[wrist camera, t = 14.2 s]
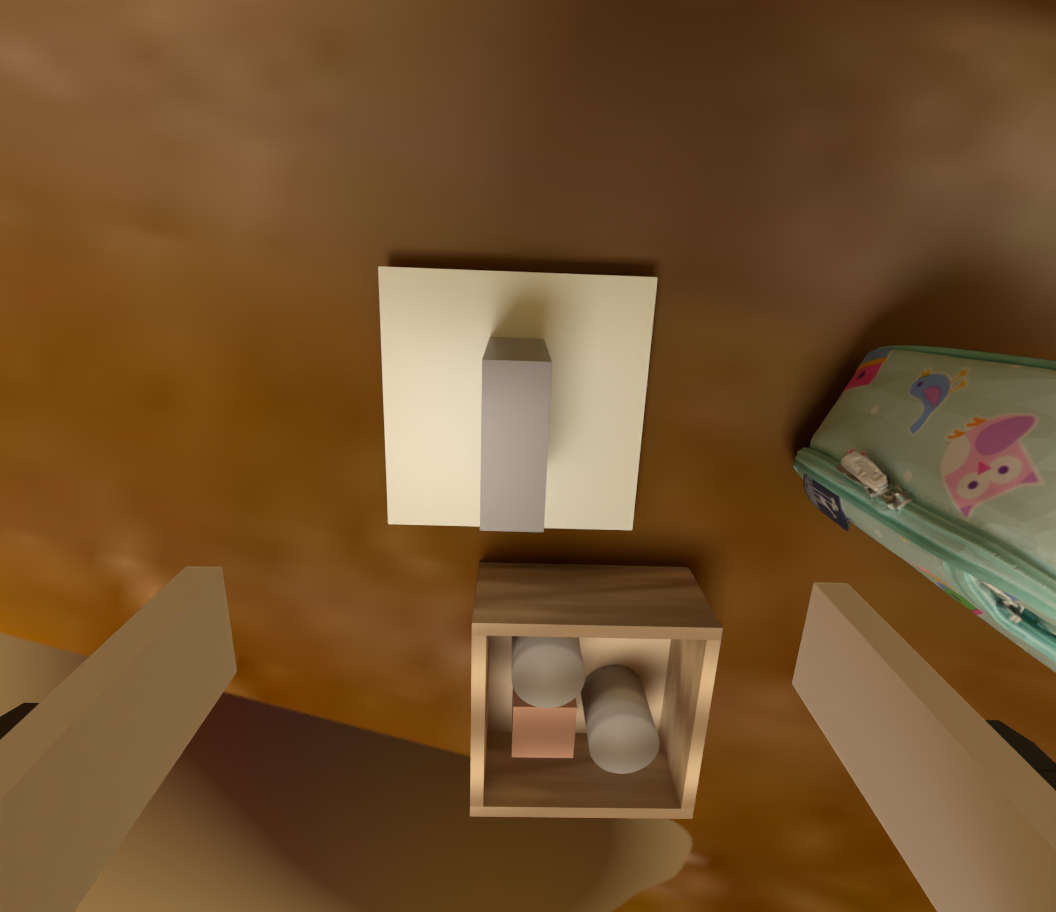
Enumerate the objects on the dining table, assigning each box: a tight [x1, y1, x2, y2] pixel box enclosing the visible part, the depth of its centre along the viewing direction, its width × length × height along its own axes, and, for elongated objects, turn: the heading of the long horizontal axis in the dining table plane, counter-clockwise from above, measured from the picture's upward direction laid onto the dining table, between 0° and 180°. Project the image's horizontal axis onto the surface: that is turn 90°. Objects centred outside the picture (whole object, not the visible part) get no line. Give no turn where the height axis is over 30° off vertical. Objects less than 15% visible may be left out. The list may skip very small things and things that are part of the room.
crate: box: [470, 562, 723, 819], centre depth 39 cm, size 14×14×7 cm
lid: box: [378, 266, 658, 532], centre depth 31 cm, size 15×15×10 cm
